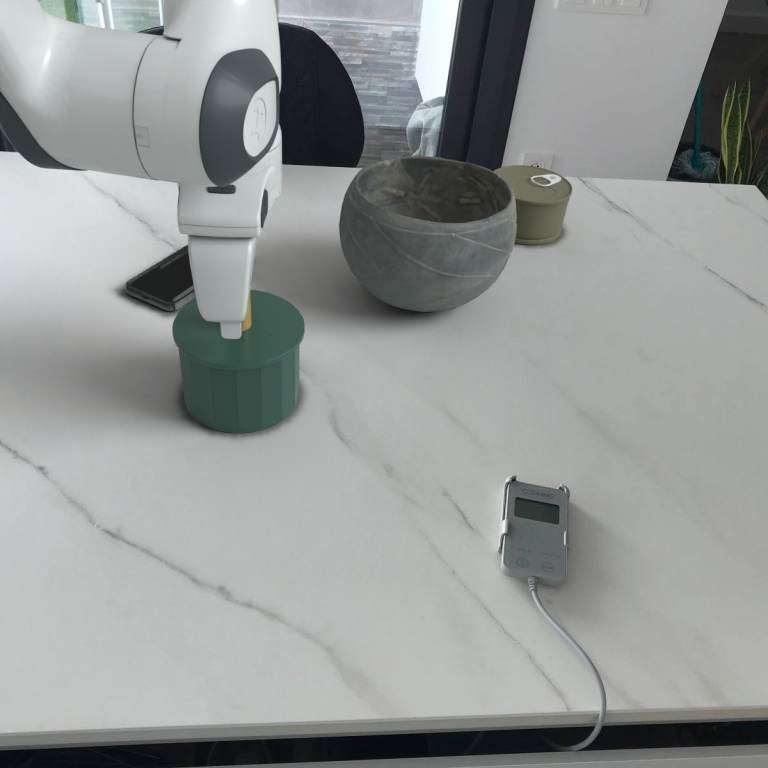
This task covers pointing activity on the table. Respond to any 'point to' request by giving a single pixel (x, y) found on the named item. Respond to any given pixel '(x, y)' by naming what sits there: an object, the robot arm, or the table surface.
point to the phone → (165, 282)
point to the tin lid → (258, 339)
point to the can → (537, 202)
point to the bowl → (427, 231)
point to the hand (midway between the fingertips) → (237, 305)
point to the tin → (240, 394)
